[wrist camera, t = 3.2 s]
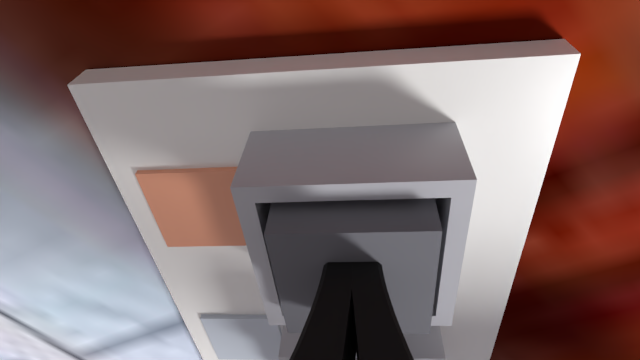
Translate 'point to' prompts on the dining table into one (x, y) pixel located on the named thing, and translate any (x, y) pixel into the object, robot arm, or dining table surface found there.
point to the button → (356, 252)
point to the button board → (331, 171)
